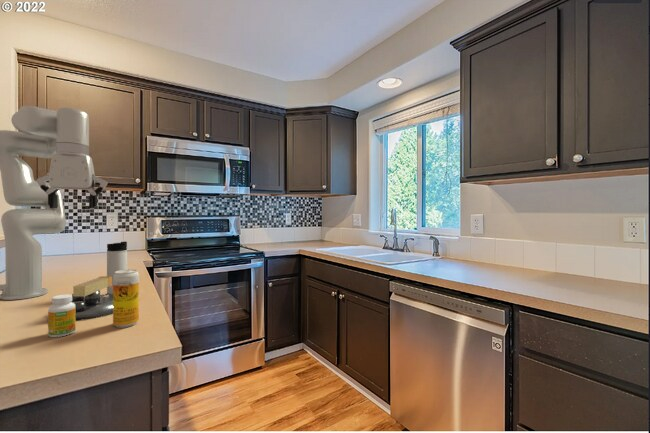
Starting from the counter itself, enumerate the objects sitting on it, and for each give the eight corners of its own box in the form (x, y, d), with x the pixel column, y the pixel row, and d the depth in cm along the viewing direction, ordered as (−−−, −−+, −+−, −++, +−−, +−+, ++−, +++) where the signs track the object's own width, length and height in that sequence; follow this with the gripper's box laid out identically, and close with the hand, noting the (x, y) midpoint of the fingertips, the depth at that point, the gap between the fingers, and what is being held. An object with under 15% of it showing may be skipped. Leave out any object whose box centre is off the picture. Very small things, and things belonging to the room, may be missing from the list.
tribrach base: (38, 321, 88) (38, 305, 88) (78, 302, 106) (78, 289, 106) (108, 318, 91) (108, 303, 91) (135, 300, 109) (135, 288, 109)
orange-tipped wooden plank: (86, 308, 92) (86, 285, 92) (72, 309, 92) (71, 286, 92) (112, 296, 106) (112, 276, 106) (100, 296, 105) (100, 276, 105)
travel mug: (117, 297, 112) (117, 242, 112) (102, 296, 114) (102, 241, 113) (131, 293, 118) (131, 240, 118) (117, 291, 120) (117, 240, 119)
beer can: (111, 329, 83) (111, 274, 83) (114, 322, 88) (114, 270, 88) (137, 326, 86) (138, 272, 85) (139, 319, 91) (139, 268, 91)
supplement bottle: (52, 339, 76) (52, 300, 76) (44, 334, 79) (44, 297, 79) (79, 332, 81) (79, 295, 81) (70, 328, 84) (70, 292, 84)
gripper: (29, 146, 86) (30, 207, 87) (102, 151, 92) (102, 208, 92) (44, 151, 93) (44, 207, 94) (111, 155, 99) (111, 208, 100)
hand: (73, 208), depth 93 cm, fingers open, 9 cm apart
